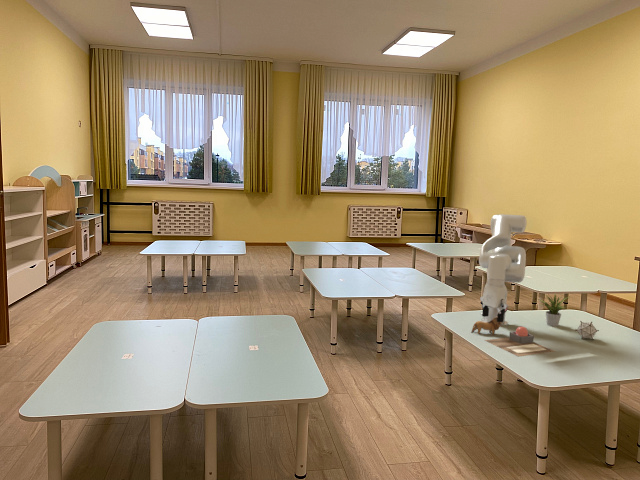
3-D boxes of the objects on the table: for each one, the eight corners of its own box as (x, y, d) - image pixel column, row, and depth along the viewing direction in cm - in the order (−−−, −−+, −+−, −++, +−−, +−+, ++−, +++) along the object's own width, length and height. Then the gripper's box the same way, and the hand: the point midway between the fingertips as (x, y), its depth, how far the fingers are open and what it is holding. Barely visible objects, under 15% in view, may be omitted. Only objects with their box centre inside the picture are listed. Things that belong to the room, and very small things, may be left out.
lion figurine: (497, 333, 223) (499, 315, 222) (502, 337, 218) (504, 318, 217) (467, 333, 222) (468, 315, 221) (472, 337, 216) (473, 318, 215)
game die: (586, 345, 222) (596, 327, 223) (594, 345, 214) (605, 326, 215) (568, 334, 224) (579, 316, 225) (576, 333, 215) (587, 315, 217)
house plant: (558, 320, 248) (561, 289, 246) (575, 328, 235) (579, 296, 232) (532, 320, 246) (535, 289, 244) (549, 329, 233) (552, 296, 230)
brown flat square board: (484, 342, 210) (484, 339, 210) (519, 338, 217) (519, 335, 217) (517, 359, 191) (518, 356, 191) (555, 354, 199) (555, 350, 198)
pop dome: (512, 337, 212) (513, 325, 211) (521, 336, 214) (522, 324, 213) (521, 341, 207) (522, 329, 207) (529, 340, 209) (531, 328, 209)
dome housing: (508, 338, 213) (509, 332, 212) (521, 337, 216) (521, 330, 215) (520, 344, 206) (521, 337, 206) (533, 342, 209) (534, 335, 208)
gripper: (476, 279, 223) (473, 314, 224) (502, 286, 207) (499, 324, 208) (489, 278, 226) (486, 314, 227) (516, 285, 210) (512, 323, 211)
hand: (492, 319), depth 218 cm, fingers open, 9 cm apart
